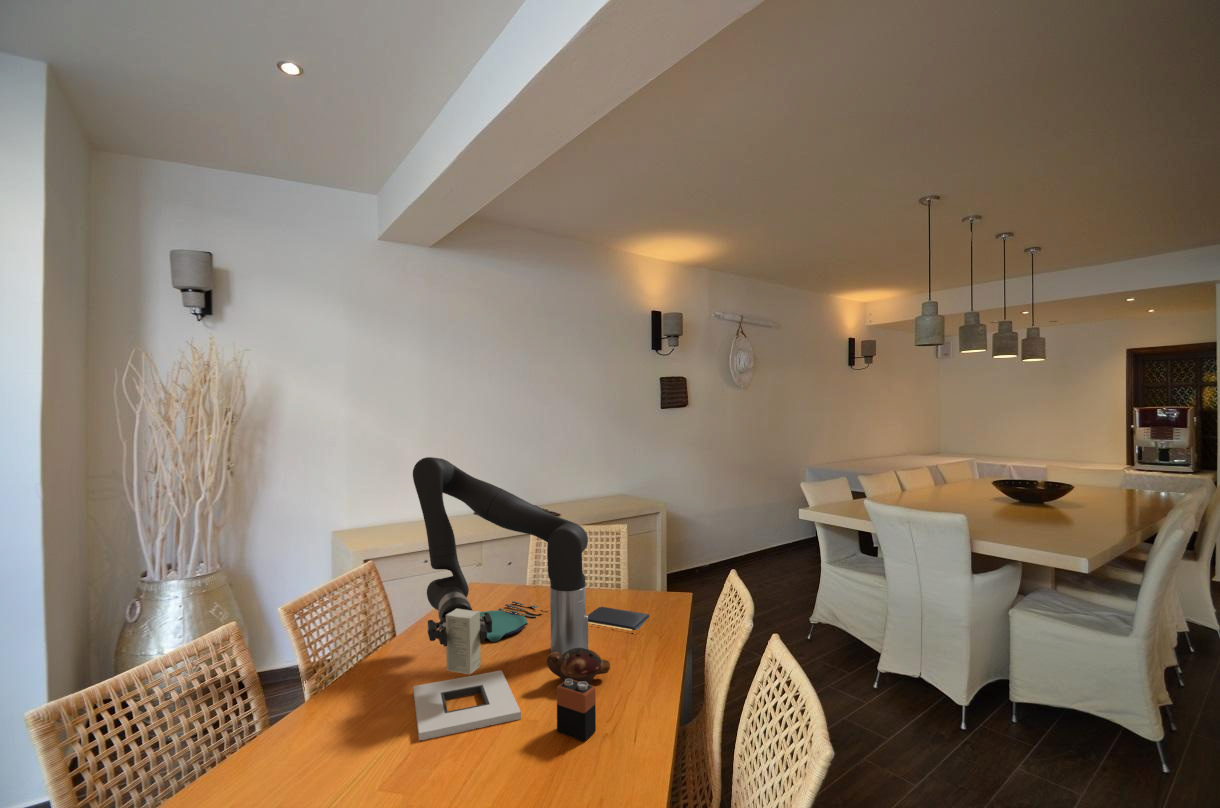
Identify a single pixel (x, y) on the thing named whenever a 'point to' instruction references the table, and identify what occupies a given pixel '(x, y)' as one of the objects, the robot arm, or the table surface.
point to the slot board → (442, 722)
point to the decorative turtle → (577, 665)
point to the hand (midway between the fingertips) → (464, 639)
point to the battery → (576, 709)
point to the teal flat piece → (506, 622)
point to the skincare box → (463, 641)
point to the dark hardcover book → (617, 618)
